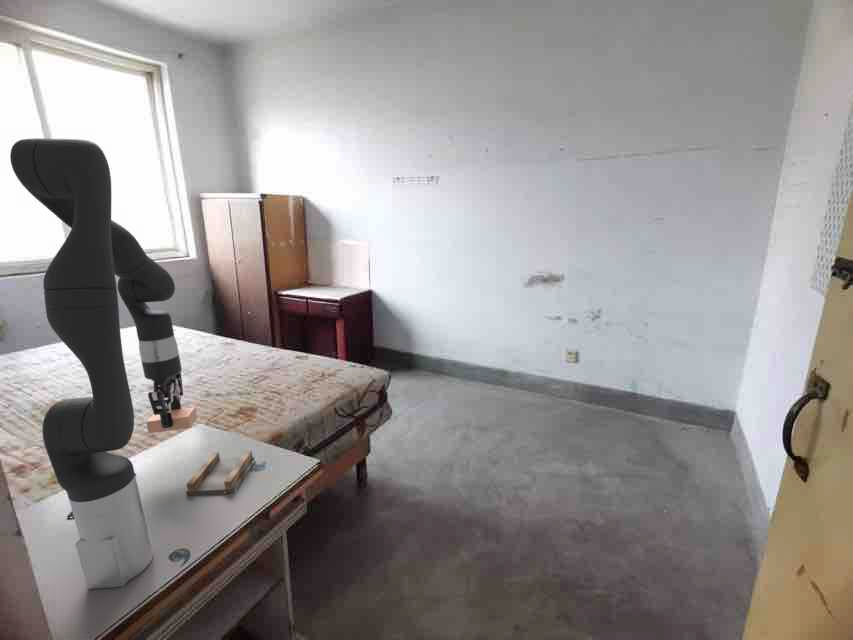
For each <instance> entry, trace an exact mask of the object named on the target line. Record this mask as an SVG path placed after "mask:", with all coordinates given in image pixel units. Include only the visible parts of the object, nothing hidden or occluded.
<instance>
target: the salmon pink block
mask: <svg viewBox="0 0 853 640" xmlns="http://www.w3.org/2000/svg"><path fill="white" fill-rule="evenodd" d="M171 413H172V419H173V426H172V427H170V428H163V427H162V423H161V418H160V414H159V415H154V413H153V414H152V415H151V416H150V417H149V418H148V419H147V420H146V423H145V424H146V427H147V428H146V429H147V432H148V434H153V433H154V434H155V433H161V432H168V431H169V432H170V431H171V432H172V431H177V430H185V429H191V428H192V426H193V425H194V423H195V422H196V421H197V419H198V415H197V409H196V406H192V407H186V408H181V409H176V410H171Z"/></svg>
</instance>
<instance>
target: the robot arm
mask: <svg viewBox="0 0 853 640" xmlns="http://www.w3.org/2000/svg"><path fill="white" fill-rule="evenodd" d="M10 149H11V150H10V153H9V154H10V155H9V157H10V158H9V159H10V164H11V167H12V171H13V173H14V174H15V176H16V178H17V179H18V181H19V182H20V184H21V185H22V186H23V187H24V188H25V189H26V190H27V192H28V193H29V194H30V195H32V196H33V197H34V198H35V199H36V200H37V201H38V202H40V203H41V204H42V205H43V206H44V207H45V208H46V209H48V210H49V211H50V212H51V213H53V214H54V215H55V216H56V217H57V218H58V219H59V220H61V221H62V222H63V223H64V224H65V225H67V226H68V227H69V228H70V231H69V233H68V236H67V237H66V239H65V241H64V242H63V244H62V245H61V247H60V248H59V250H58V251H57V253H56V254H55V256H54V257H53V258H52V261H50V264H49V265H48V268H46V270H45V273H44V277H43V283H42V284H43V286H42V287H43V295H44V304H45V313H46V319H47V321H48V324H49V326H50V327H51V329H52V330H53V332H54V333H55V334H56V335H57V337H58V338H59V339H60V341H62V343H64V345H66V347H67V348H68V349H69V350H70V351H71V352H72V353H73V354H74V356H75V357H76V358H77V360H78V361H80V363H81V365H82V366H83V368H84V370H85V371H86V375H87V376H88V378H89V383H90V388H91V393H92V394H91V395H92V396H88V397H87V396H85V397H75V398H67V399H62V400H60V401H57V402H55V403H54V404H53V405H51V406H50V407H49V409H48V410H47V412H46V413H45V415H44V418H43V421H42V428H41V429H42V439H43V443H44V448H45V450H46V454H47V456H48V458H49V461H50V464H51V466H52V468H53V471H54V475H55V478H56V480H57V483H58V485H59V486H60V488H62V489H63V490H64V491H65V493H66V495H67V497H68V501H69V504H70V507H71V511H72V512H73V516H74V518H73V519H74V523H75V526H76V527H75V528H76V530H77V535H78V537H79V539H78V540H77V541H76V542H75V547H76V551H77V555H78V558H79V562H80V566H81V569H82V573H83V576H84V580H85V583H86V587H87V589H88V590H91V589H105V588H106V589H107V588H123V587H124V586H126V584H127V583H128V582H129V581H130V580H132V579H134V578H136V577H137V576H138V575H139V574H140V573H142V572H143V571H144V570H145V569H147V568H148V566H149V565H150V563H151V562H152V560H153V557H154V552H153V547H152V544H151V539H150V534H149V529H148V524H147V521H146V518H145V517H146V516H145V512H144V509H143V504H142V500H141V495H140V491H139V486H138V482H137V477H136V476H135V473H136V472H135V470H134V469H135V468H134V465H133V463H132V461H131V460H130V459H129V458H127V457H125V456H122V455H118V454H114V453H111V451H112V452H113V451H118V450H120V449H123V448H124V447H126V445H128V443H129V442H130V441H131V439H132V435H133V433H134V428H135V412H134V406H133V401H132V400H133V399H132V394H131V390H130V386H129V380H128V376H127V371H126V366H125V360H124V354H123V345H122V337H121V325H120V308H119V298H118V297H119V296H120V298H121V300H122V302H123V303H124V305H125V306H126V308H127V310H128V312H129V314H130V317H131V318H132V321H133V322H134V325H135V329H136V335H137V339H138V349H139V355H140V360H141V366H142V369H143V374H144V378H145V379H147V380H151V381H153V387H152V388H153V390H152V391H148V393H147V395H148V396H147V397H148V399H149V402H150V406H151V409H152V413H153V414H154V415H159V414H160V418H161V423H162V427H163V428H170V427H172V426H173V419H172V413H171V410H176V409H182V404H181V400H182V396H184V389H183V388H184V387H183V380H182V379H183V378H182V373H181V372H182V371H183V370H182V364H181V358H180V353H179V348H178V347H179V346H178V342H177V340H176V337H175V332H174V327H173V321H172V317H171V314H170V313H169V312H167V311H163V310H157V309H152V308H150V307H149V306H148V304H147V303H152V302H153V303H155V302H156V303H157V302H158V303H159V302H164V301H165V302H166V301H169V299H171V298H172V297H173V296H174V294H175V292H176V291H175V290H176V286H175V281H174V279H173V278H172V276H171V274H170V272H168V271H167V270H166V269H165V268H164V267H163V266H161V265H160V264H159V263H157V262H156V261H155V260H154V259H152V258H151V257H150V256H148V255H147V253H146V252H145V251H144V249H143V247H142V246H141V244H140V243H139V241H138V239H136V238H135V235H133V234H132V233H131V232H130V231H129V230H128V229H126V228H125V227H123V226H122V225H120V224H119V223H117V222H116V221H114V220H113V219H112V176H111V172H110V171H111V170H110V166H109V162H108V160H107V159H108V158H107V157H106V155H105V153H104V151H103V149H102V148H101V147H100V146H99V145H98V144H97V143H96V142H94V141H91V140H87V139H78V138H44V137H43V138H24V139H19V140H18V141H16V142H15V143H14V144H13V145H12V147H11V148H10ZM116 276H117V278H118V281H116V279H117V278H116ZM118 294H119V296H118Z"/></svg>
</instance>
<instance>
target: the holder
mask: <svg viewBox="0 0 853 640" xmlns="http://www.w3.org/2000/svg"><path fill="white" fill-rule="evenodd" d="M254 459H255V460H256V457H253V451H252V450H245V452H244V453H243V454H242V456H241V457H238V458H237V457H236V458H221V457H220V453H219V452H212V453H211V454H210V455H209V457H208V458H207V459H206V460H205V461H204V463H202V465H201V466H200V467H199V468H198V470H197V471H196V472H195V473H194V474H193V476H192V477H191V478H190V479H189V480H188V481H187V482H186V488H187V490H186V491H185V493H186V494H185V495H186V496H199V495H201V494H203V495H212V494H211V493H220V494H225V493H224V492H235V490H236V489H237V490H238V488H239V487H240V485H241V484H240V483H242V482H243V481H242V480H244V479H245V477H246V476H247V474H248V473H247V471H248V469H249V467H250V466H251V464H252V462H253V461H254ZM251 467H252V466H251ZM248 472H249V471H248ZM246 473H247V474H246ZM245 475H246V476H245ZM244 476H245V477H244ZM243 478H244V479H243ZM241 481H242V482H241ZM238 486H239V487H238ZM237 490H236V491H237ZM235 493H236V492H235Z"/></svg>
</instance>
